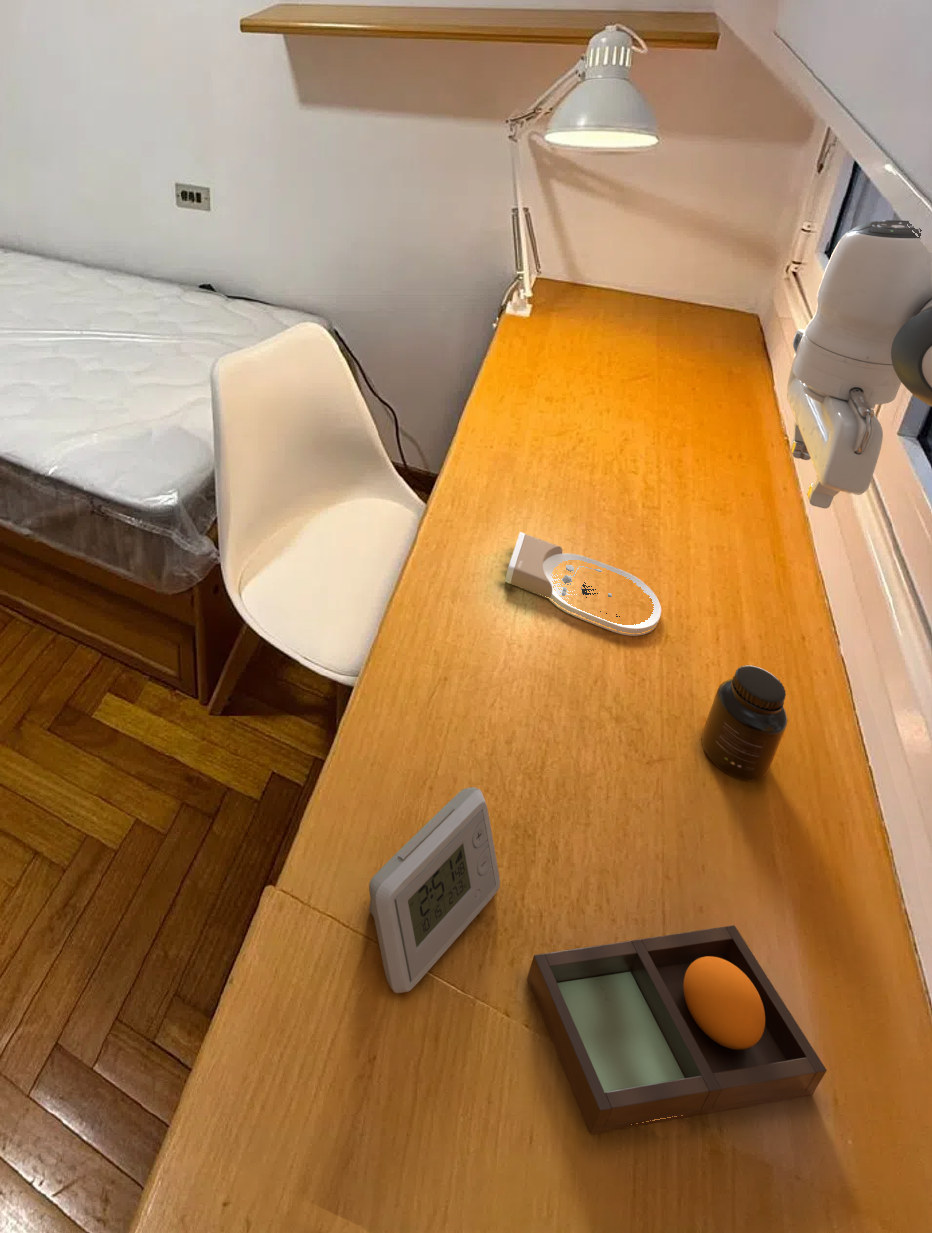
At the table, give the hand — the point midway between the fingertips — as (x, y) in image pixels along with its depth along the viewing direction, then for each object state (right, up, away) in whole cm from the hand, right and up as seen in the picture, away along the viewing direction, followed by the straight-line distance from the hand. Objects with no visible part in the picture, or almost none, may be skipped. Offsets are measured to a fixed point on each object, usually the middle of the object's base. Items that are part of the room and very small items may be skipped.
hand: (807, 478), depth 90 cm
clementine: (-22, -40, -19) cm, 50 cm away
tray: (-27, -44, -18) cm, 55 cm away
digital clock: (-45, -40, -10) cm, 61 cm away
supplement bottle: (-5, -34, +6) cm, 35 cm away
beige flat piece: (-12, -24, +29) cm, 39 cm away
